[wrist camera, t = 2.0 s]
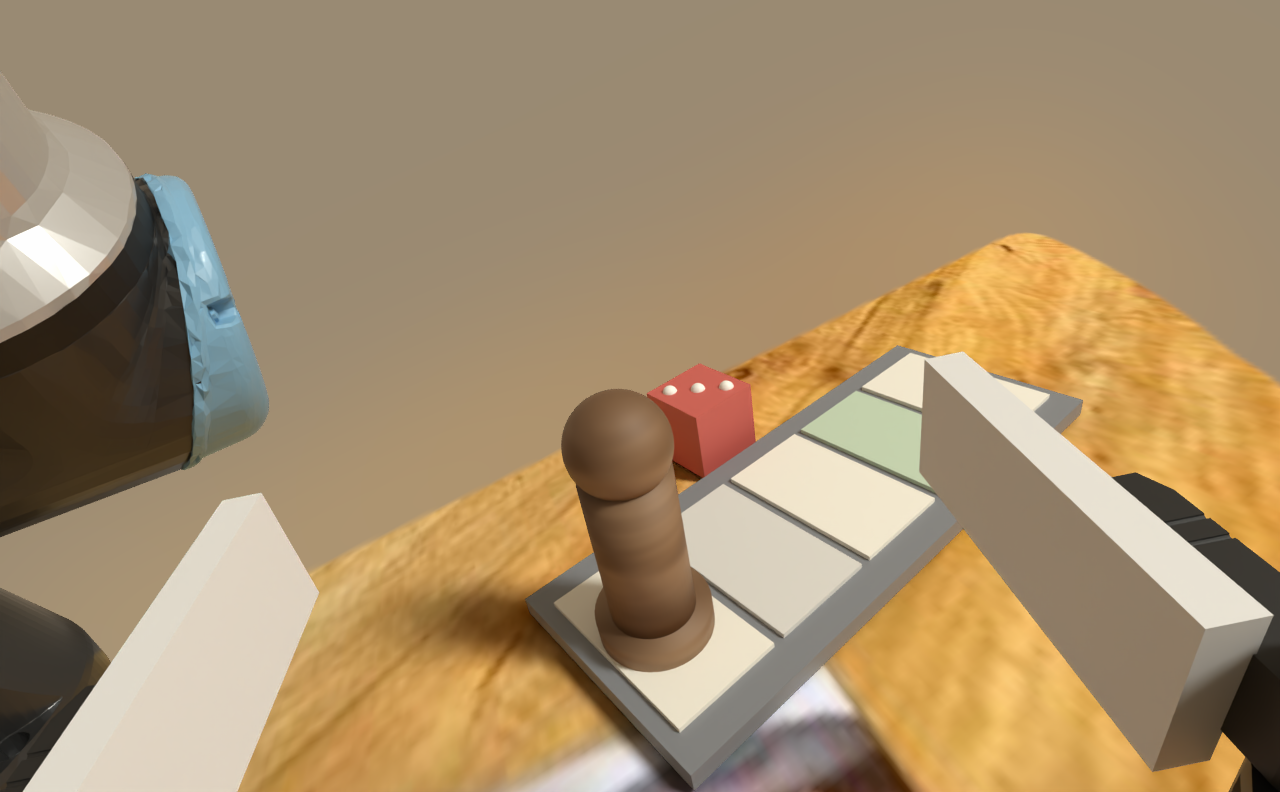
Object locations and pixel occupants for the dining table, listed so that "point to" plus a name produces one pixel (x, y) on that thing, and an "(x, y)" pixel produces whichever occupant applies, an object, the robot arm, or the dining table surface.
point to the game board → (784, 560)
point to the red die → (706, 417)
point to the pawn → (636, 532)
